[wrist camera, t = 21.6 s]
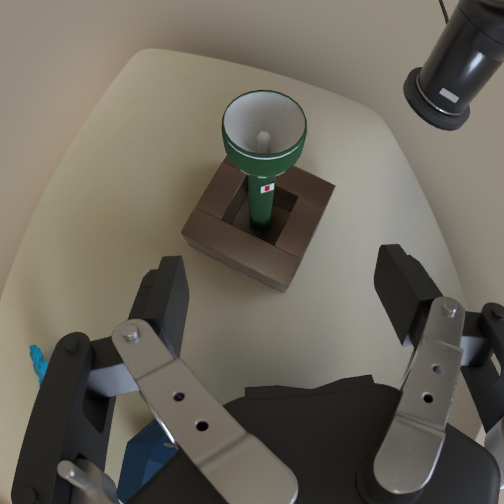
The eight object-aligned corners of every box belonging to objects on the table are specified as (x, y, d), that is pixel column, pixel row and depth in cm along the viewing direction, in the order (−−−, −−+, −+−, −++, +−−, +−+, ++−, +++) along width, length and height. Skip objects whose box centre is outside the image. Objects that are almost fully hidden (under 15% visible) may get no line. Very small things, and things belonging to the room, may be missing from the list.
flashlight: (246, 252, 36) (236, 168, 17) (231, 211, 38) (209, 101, 18) (288, 237, 37) (323, 143, 17) (272, 197, 38) (287, 81, 18)
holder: (237, 162, 39) (235, 140, 34) (326, 202, 38) (335, 185, 33) (189, 245, 37) (180, 233, 32) (283, 292, 35) (288, 287, 31)
